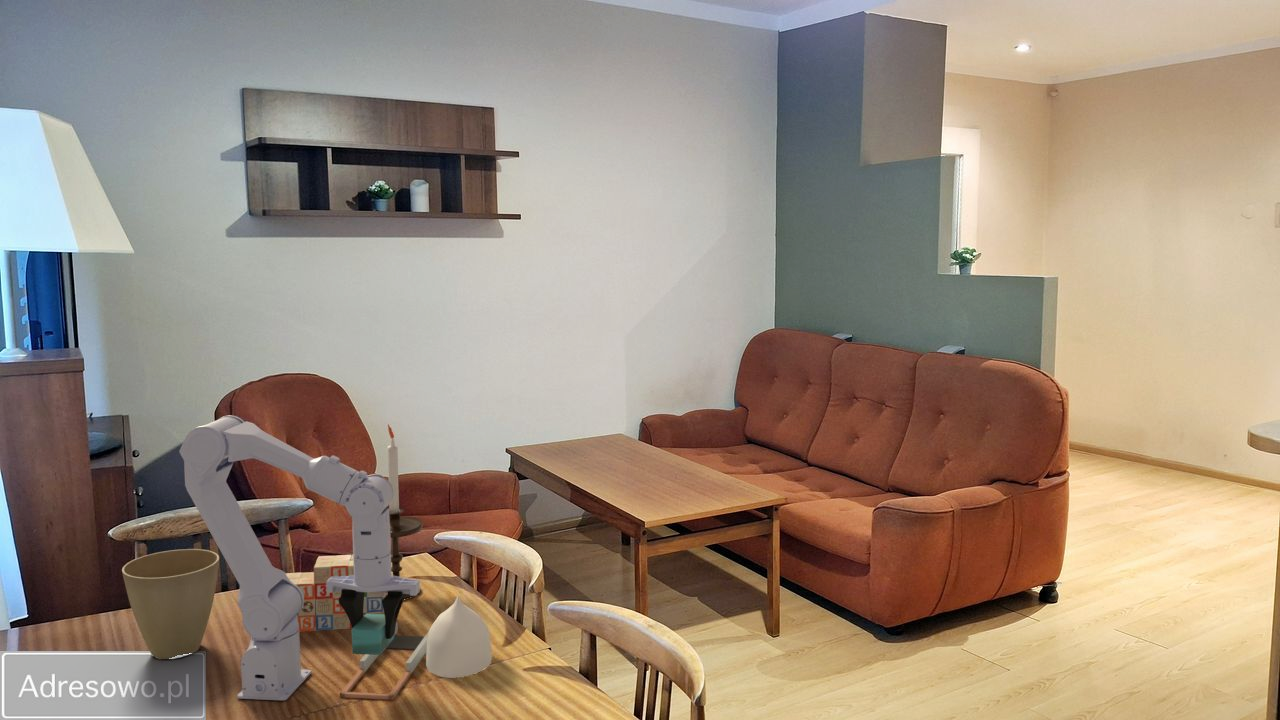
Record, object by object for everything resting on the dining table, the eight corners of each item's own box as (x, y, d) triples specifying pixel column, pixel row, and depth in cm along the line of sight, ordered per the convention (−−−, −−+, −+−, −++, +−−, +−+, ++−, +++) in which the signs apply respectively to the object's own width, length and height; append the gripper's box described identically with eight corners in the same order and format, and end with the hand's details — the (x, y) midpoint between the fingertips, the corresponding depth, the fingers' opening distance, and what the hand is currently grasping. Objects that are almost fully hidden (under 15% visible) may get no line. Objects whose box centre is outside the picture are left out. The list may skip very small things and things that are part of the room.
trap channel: (393, 699, 141) (392, 687, 141) (339, 697, 142) (339, 685, 142) (439, 633, 166) (439, 622, 165) (393, 631, 166) (393, 621, 166)
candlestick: (375, 607, 177) (370, 431, 173) (363, 588, 187) (357, 421, 182) (430, 597, 182) (426, 426, 178) (416, 579, 192) (411, 416, 187)
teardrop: (414, 660, 155) (412, 593, 153) (471, 642, 162) (470, 578, 160) (445, 685, 146) (444, 614, 145) (504, 665, 154) (503, 597, 152)
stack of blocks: (263, 635, 165) (259, 569, 163) (270, 620, 171) (267, 558, 169) (384, 627, 168) (382, 563, 167) (388, 613, 174) (386, 552, 173)
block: (380, 654, 141) (379, 630, 141) (352, 653, 142) (351, 629, 141) (393, 638, 147) (393, 614, 147) (366, 637, 148) (366, 613, 147)
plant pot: (212, 665, 152) (207, 574, 150) (115, 674, 149) (108, 581, 147) (232, 629, 167) (227, 545, 165) (143, 636, 164) (138, 550, 162)
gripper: (424, 546, 147) (426, 626, 148) (337, 543, 148) (340, 623, 149) (410, 561, 140) (412, 645, 141) (319, 558, 141) (322, 641, 143)
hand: (374, 635), depth 145 cm, fingers closed on block, 4 cm apart
